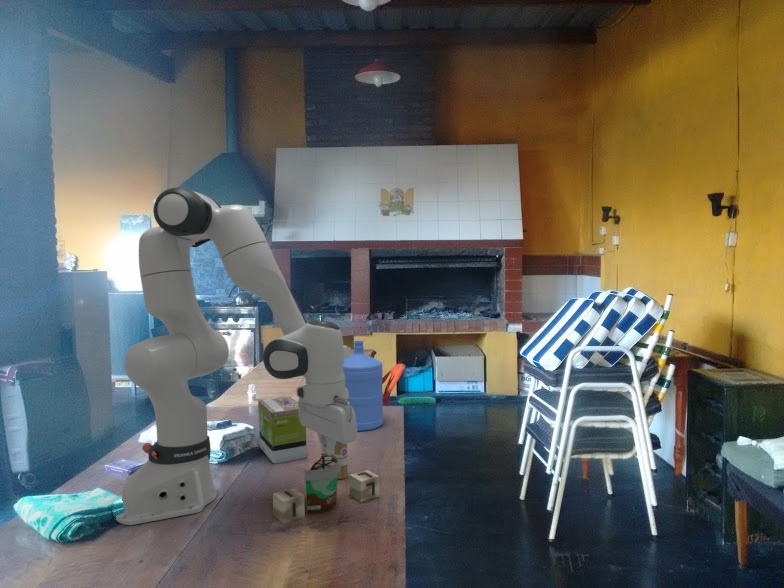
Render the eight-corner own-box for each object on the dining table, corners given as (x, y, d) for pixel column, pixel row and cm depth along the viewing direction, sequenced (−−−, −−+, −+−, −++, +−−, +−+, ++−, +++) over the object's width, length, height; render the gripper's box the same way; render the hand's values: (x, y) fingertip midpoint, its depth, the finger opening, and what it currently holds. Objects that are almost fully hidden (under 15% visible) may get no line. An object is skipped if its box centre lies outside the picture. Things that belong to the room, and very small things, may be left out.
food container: (332, 518, 125) (331, 472, 124) (304, 515, 126) (303, 471, 126) (347, 494, 137) (346, 453, 136) (322, 492, 138) (322, 451, 138)
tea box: (258, 448, 171) (257, 399, 170) (291, 443, 175) (290, 395, 174) (272, 464, 158) (271, 411, 157) (307, 458, 162) (306, 406, 161)
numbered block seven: (361, 502, 133) (361, 480, 133) (349, 495, 137) (349, 473, 137) (379, 497, 136) (379, 475, 135) (367, 490, 140) (367, 469, 140)
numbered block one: (284, 524, 123) (283, 500, 122) (273, 515, 127) (272, 492, 126) (305, 518, 125) (304, 494, 125) (294, 509, 130) (293, 487, 129)
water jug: (385, 418, 201) (384, 338, 199) (380, 432, 185) (379, 345, 183) (341, 417, 202) (339, 338, 200) (332, 431, 187) (330, 345, 185)
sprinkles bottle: (341, 481, 146) (341, 428, 145) (326, 477, 148) (325, 426, 147) (351, 474, 150) (350, 423, 149) (336, 471, 152) (336, 421, 151)
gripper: (363, 398, 124) (365, 462, 124) (316, 383, 140) (318, 440, 141) (338, 403, 120) (340, 469, 121) (292, 387, 136) (294, 445, 137)
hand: (328, 453), depth 131 cm, fingers closed
